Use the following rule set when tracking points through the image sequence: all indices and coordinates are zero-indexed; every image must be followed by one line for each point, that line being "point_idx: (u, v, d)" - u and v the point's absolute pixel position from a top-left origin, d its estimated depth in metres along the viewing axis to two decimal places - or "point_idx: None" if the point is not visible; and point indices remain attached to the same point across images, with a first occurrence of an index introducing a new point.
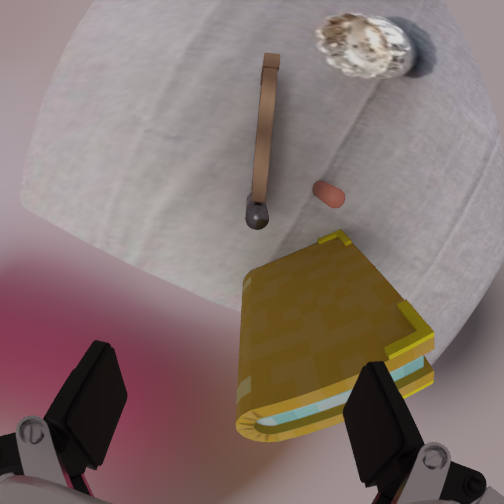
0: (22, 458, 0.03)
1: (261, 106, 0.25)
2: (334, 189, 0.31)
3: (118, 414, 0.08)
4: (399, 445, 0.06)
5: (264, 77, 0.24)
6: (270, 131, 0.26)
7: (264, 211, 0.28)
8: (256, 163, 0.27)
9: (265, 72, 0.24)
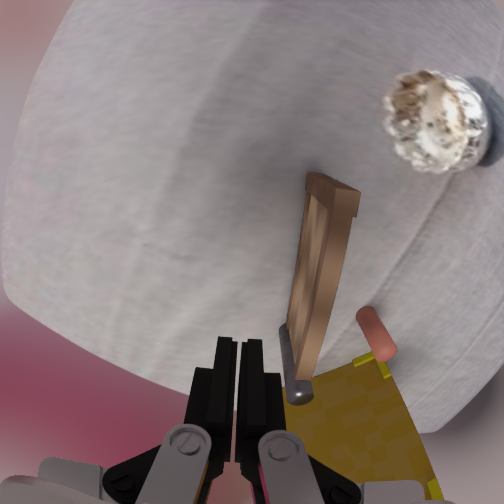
0: (157, 461, 0.05)
1: (321, 278, 0.18)
2: (388, 345, 0.24)
3: None
4: (244, 423, 0.07)
5: (331, 231, 0.17)
6: (329, 310, 0.19)
7: (309, 392, 0.22)
8: (305, 346, 0.21)
9: (333, 222, 0.17)
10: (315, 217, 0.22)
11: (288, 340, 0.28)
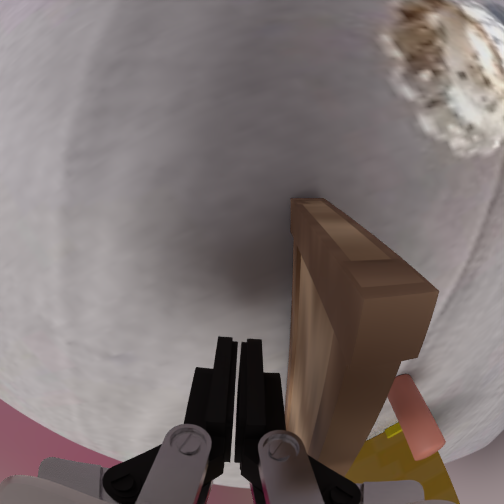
0: (157, 461, 0.05)
1: (323, 454, 0.07)
2: (432, 445, 0.11)
3: None
4: (243, 423, 0.07)
5: (345, 392, 0.06)
6: None
7: None
8: None
9: (352, 375, 0.05)
10: (311, 303, 0.10)
11: None
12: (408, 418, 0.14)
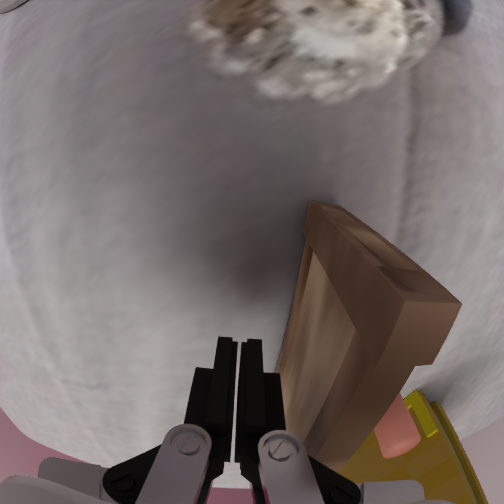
0: (157, 461, 0.05)
1: (319, 454, 0.07)
2: (398, 443, 0.11)
3: None
4: (243, 423, 0.07)
5: (359, 393, 0.06)
6: None
7: None
8: None
9: (370, 375, 0.05)
10: (320, 305, 0.10)
11: None
12: None
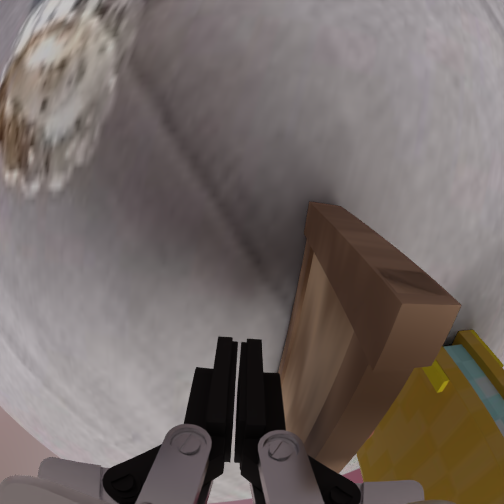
0: (157, 461, 0.05)
1: (320, 456, 0.07)
2: None
3: None
4: (243, 423, 0.07)
5: (358, 394, 0.06)
6: None
7: None
8: None
9: (369, 377, 0.05)
10: (320, 306, 0.10)
11: None
12: None
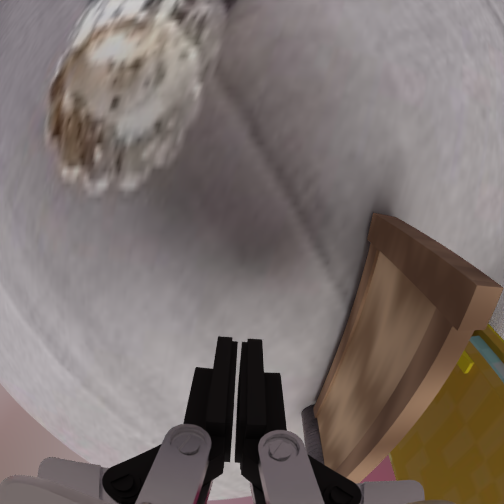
0: (157, 461, 0.05)
1: (403, 412, 0.09)
2: None
3: None
4: (244, 423, 0.07)
5: (441, 353, 0.07)
6: (397, 441, 0.10)
7: None
8: (351, 474, 0.11)
9: (449, 339, 0.07)
10: (391, 297, 0.12)
11: (305, 439, 0.18)
12: None
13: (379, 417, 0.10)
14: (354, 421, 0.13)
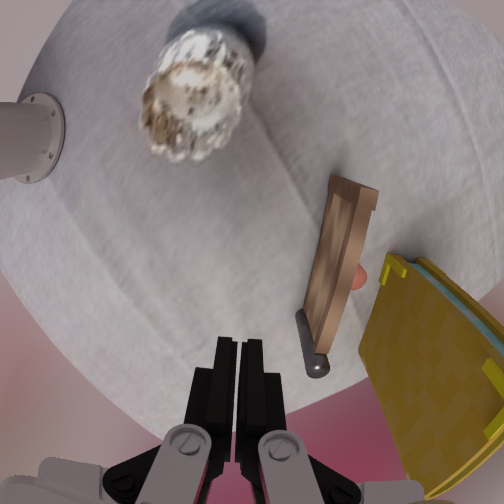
0: (157, 461, 0.05)
1: (345, 259, 0.22)
2: None
3: None
4: (244, 423, 0.07)
5: (354, 221, 0.21)
6: (349, 288, 0.23)
7: (317, 363, 0.25)
8: (327, 320, 0.24)
9: (356, 214, 0.21)
10: (338, 212, 0.26)
11: (298, 329, 0.32)
12: None
13: (336, 271, 0.24)
14: (326, 289, 0.26)
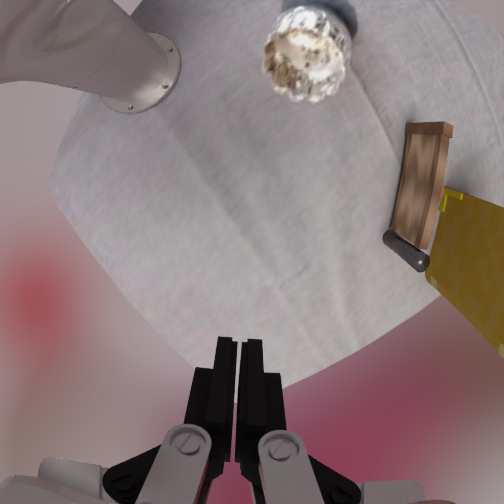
0: (157, 461, 0.05)
1: (437, 169, 0.26)
2: None
3: None
4: (244, 423, 0.07)
5: (441, 143, 0.25)
6: (440, 192, 0.27)
7: (422, 255, 0.29)
8: (428, 217, 0.29)
9: (442, 139, 0.25)
10: (420, 145, 0.30)
11: (391, 243, 0.36)
12: None
13: (429, 180, 0.28)
14: (419, 199, 0.31)
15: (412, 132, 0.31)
